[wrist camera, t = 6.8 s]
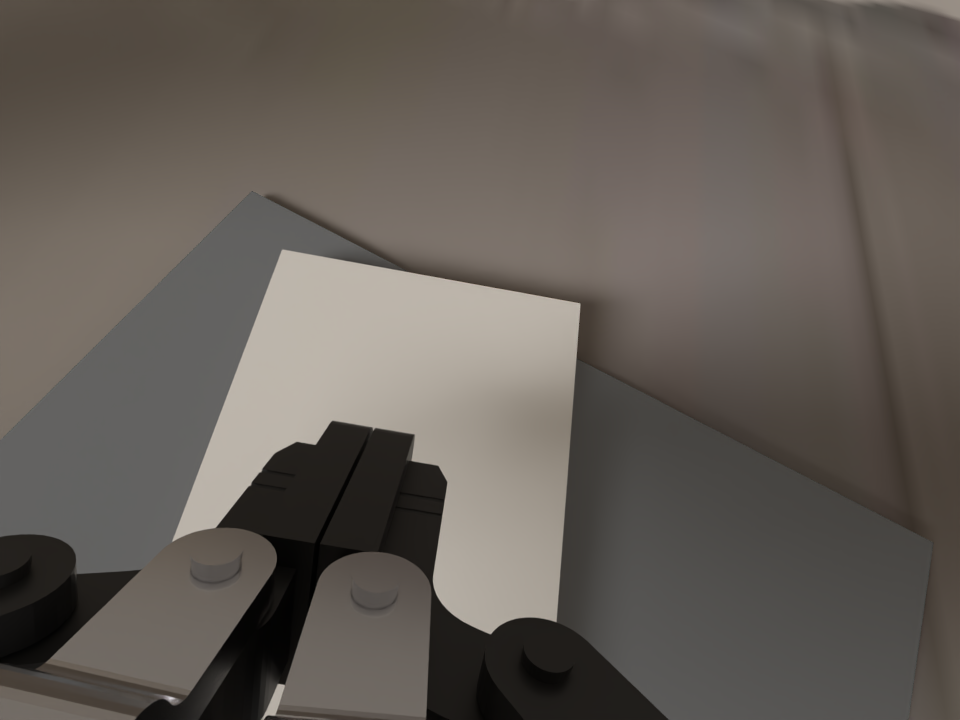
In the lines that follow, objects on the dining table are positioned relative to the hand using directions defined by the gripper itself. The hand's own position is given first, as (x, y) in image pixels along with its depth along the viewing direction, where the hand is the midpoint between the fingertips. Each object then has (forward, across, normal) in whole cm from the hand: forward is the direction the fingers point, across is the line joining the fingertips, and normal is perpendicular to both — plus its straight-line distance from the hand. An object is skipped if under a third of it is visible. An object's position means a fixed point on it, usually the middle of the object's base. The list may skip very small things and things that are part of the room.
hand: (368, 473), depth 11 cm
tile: (0, 0, +7) cm, 7 cm away
